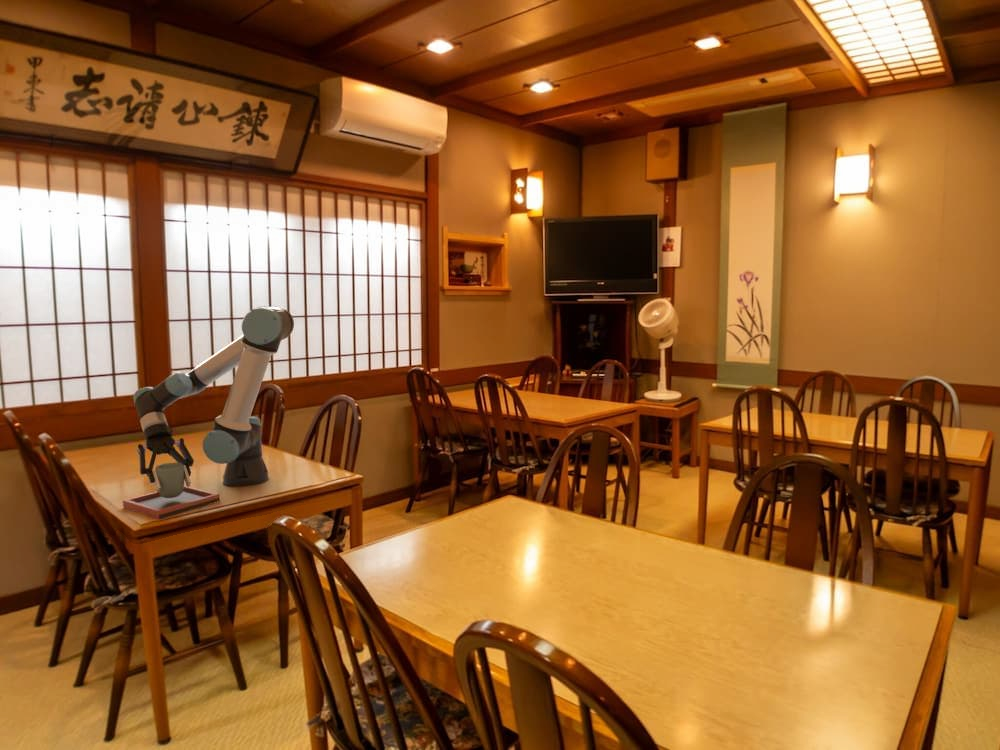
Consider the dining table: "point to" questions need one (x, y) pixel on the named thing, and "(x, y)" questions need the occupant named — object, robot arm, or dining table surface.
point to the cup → (170, 479)
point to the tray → (170, 502)
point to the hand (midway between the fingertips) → (174, 487)
